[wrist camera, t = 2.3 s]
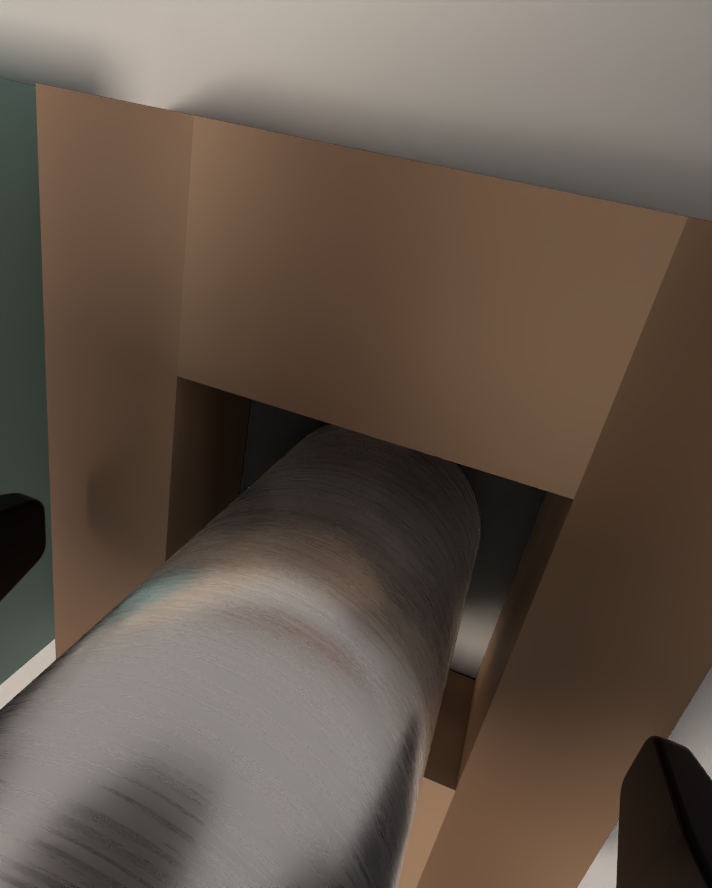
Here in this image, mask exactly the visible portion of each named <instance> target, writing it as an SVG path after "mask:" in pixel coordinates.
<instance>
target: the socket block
mask: <svg viewBox="0 0 712 888" xmlns="http://www.w3.org/2000/svg"><path fill="white" fill-rule="evenodd" d="M36 111H37V140H38V168H39V196H40V224H41V252H42V280H43V308H44V336H45V364H46V392H47V420H48V448H49V477H50V505H51V533H52V561H53V589H54V617H55V645H56V660H57V659H58V658H59V657H60V656H61V655H62V654H63V653H64V652H65V651H67V650H68V649H69V648H70V647H71V646H72V645H73V644H74V643H75V642H77V641H78V640H79V639H80V638H81V637H82V636H83V635H84V634H86V633H87V632H88V631H89V630H90V629H91V628H92V627H93V626H94V625H96V624H97V623H98V622H99V621H100V620H101V619H102V618H103V617H104V616H106V615H107V614H108V613H109V612H110V611H111V610H112V609H113V608H115V607H116V606H117V605H118V604H119V603H120V602H121V601H122V600H123V599H125V598H126V597H127V596H128V595H129V594H130V593H131V592H132V591H133V590H135V589H136V588H137V587H138V586H139V585H140V584H141V583H142V582H144V581H145V580H146V579H147V578H148V577H149V576H150V575H151V574H152V573H154V572H155V571H156V570H157V569H158V568H159V567H160V566H161V565H162V564H164V563H165V562H166V561H167V560H168V559H169V558H170V557H171V556H173V555H174V554H175V553H176V552H177V551H178V550H179V549H180V548H181V547H183V546H184V545H185V544H186V543H187V542H188V541H189V540H190V539H192V538H193V537H194V536H195V535H196V534H197V533H198V532H199V531H200V530H202V529H203V528H204V527H205V526H206V525H207V524H208V523H209V522H210V521H212V520H213V519H214V518H215V517H216V516H217V515H218V514H219V513H221V512H222V511H223V510H224V509H225V508H226V507H227V506H228V505H229V504H231V503H232V502H233V501H234V500H235V499H236V498H237V497H238V496H239V491H240V483H241V475H242V467H243V458H244V450H245V442H246V434H247V426H248V418H249V410H250V401H251V399H252V400H256V401H259V402H262V403H265V404H269V405H272V406H275V407H278V408H281V409H285V410H288V411H291V412H294V413H297V414H301V415H304V416H307V417H310V418H314V419H317V420H320V421H323V422H326V423H330V424H333V425H336V426H339V427H342V428H346V429H349V430H352V431H355V432H359V433H362V434H365V435H368V436H371V437H375V438H378V439H381V440H384V441H387V442H391V443H394V444H397V445H400V446H404V447H407V448H410V449H413V450H416V451H420V452H423V453H426V454H429V455H432V456H436V457H439V458H442V459H445V460H449V461H452V462H455V463H458V464H461V465H465V466H468V467H471V468H474V469H478V470H481V471H484V472H487V473H490V474H494V475H497V476H500V477H503V478H506V479H510V480H513V481H516V482H519V483H523V484H526V485H529V486H532V487H535V488H539V489H542V490H545V491H547V493H546V495H545V498H544V501H543V503H542V506H541V508H540V511H539V514H538V516H537V519H536V522H535V524H534V527H533V530H532V532H531V535H530V537H529V540H528V543H527V545H526V548H525V551H524V553H523V556H522V558H521V561H520V564H519V566H518V569H517V572H516V574H515V577H514V579H513V582H512V585H511V587H510V590H509V593H508V595H507V598H506V601H505V603H504V606H503V608H502V611H501V614H500V616H499V619H498V622H497V624H496V627H495V629H494V632H493V635H492V637H491V640H490V643H489V645H488V648H487V650H486V653H485V656H484V658H483V661H482V664H481V666H480V669H479V672H478V674H477V677H476V679H475V680H474V679H471V678H468V677H466V676H463V675H461V674H458V673H456V672H453V671H450V670H449V672H448V677H447V681H446V685H445V689H444V693H443V698H442V702H441V706H440V710H439V714H438V718H437V723H436V727H435V731H434V735H433V739H432V744H431V748H430V752H429V756H428V760H427V764H426V769H425V773H424V777H423V781H422V785H421V790H420V794H419V798H418V802H417V806H416V810H415V815H414V819H413V823H412V827H411V831H410V836H409V840H408V844H407V848H406V852H405V856H404V861H403V865H402V869H401V873H400V877H399V882H398V886H397V888H577V887H578V885H579V884H580V882H581V880H582V879H583V877H584V875H585V874H586V872H587V871H588V869H589V867H590V866H591V864H592V862H593V861H594V859H595V857H596V856H597V854H598V852H599V851H600V849H601V847H602V846H603V844H604V842H605V841H606V839H607V838H608V836H609V834H610V833H611V831H612V829H613V828H614V826H615V824H616V823H617V821H618V819H619V807H620V792H621V786H622V782H623V780H624V777H625V775H626V773H627V772H628V770H629V768H630V766H631V765H632V763H633V761H634V760H635V758H636V756H637V754H638V753H639V751H640V749H641V747H642V746H643V744H644V742H645V741H646V740H647V739H648V738H649V737H650V736H660V737H662V738H665V739H668V737H669V735H670V734H671V732H672V730H673V729H674V727H675V725H676V724H677V722H678V720H679V719H680V717H681V716H682V714H683V712H684V711H685V709H686V707H687V706H688V704H689V702H690V701H691V699H692V697H693V696H694V694H695V692H696V691H697V689H698V688H699V686H700V684H701V683H702V681H703V679H704V678H705V676H706V674H707V673H708V671H709V669H710V668H711V666H712V222H710V221H706V220H701V219H696V218H691V217H686V216H681V215H676V214H672V213H667V212H662V211H657V210H652V209H647V208H642V207H637V206H633V205H628V204H623V203H618V202H613V201H608V200H603V199H599V198H594V197H589V196H584V195H579V194H574V193H569V192H564V191H560V190H555V189H550V188H545V187H540V186H535V185H530V184H526V183H521V182H516V181H511V180H506V179H501V178H496V177H491V176H487V175H482V174H477V173H472V172H467V171H462V170H457V169H453V168H448V167H443V166H438V165H433V164H428V163H423V162H418V161H414V160H409V159H404V158H399V157H394V156H389V155H384V154H380V153H375V152H370V151H365V150H360V149H355V148H350V147H345V146H341V145H336V144H331V143H326V142H321V141H316V140H311V139H307V138H302V137H297V136H292V135H287V134H282V133H277V132H272V131H268V130H263V129H258V128H253V127H248V126H243V125H238V124H234V123H229V122H224V121H219V120H214V119H209V118H204V117H199V116H195V115H190V114H185V113H180V112H175V111H170V110H165V109H161V108H156V107H151V106H146V105H141V104H136V103H131V102H126V101H122V100H117V99H112V98H107V97H102V96H97V95H92V94H88V93H83V92H78V91H73V90H68V89H63V88H58V87H53V86H49V85H44V84H39V83H36Z"/></svg>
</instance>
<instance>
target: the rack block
mask: <svg viewBox="0 0 712 888" xmlns="http://www.w3.org/2000/svg"><path fill="white" fill-rule="evenodd" d="M9 493H22V494H25V495H27V496H30V497H33V498H35V499H38V500H39V501H41V502H42V503H43V505H44V507H45V522H46V548H45V551H44V554H43V556H42V557H41V559H40V560H39V561H38V562H37V563H36V564H35V566H34V567H33V568H32V569H31V570H30V571H29V572H28V573H27V574H26V575H25V576H24V577H23V578H22V579H21V580H20V582H19V583H18V584H17V585H16V586H15V587H14V588H13V589H12V590H11V591H10V592H9V593H8V594H7V595H6V597H5V598H4V599H3V600H2V601H1V602H0V685H1V684H2V683H3V682H4V681H5V680H7V679H8V678H9V677H10V676H11V675H12V674H14V673H15V672H16V671H17V670H18V669H20V668H21V667H22V666H23V665H24V664H25V663H27V662H28V661H29V660H30V659H31V658H32V657H34V656H35V655H36V654H37V653H38V652H39V651H41V650H42V649H43V648H44V647H45V646H47V645H48V644H49V643H50V642H51V641H52V640H54V639H55V617H54V589H53V561H52V533H51V505H50V477H49V448H48V420H47V392H46V364H45V336H44V308H43V280H42V252H41V224H40V196H39V168H38V140H37V111H36V86H31V85H27V84H23V83H19V82H14V81H10V80H6V79H2V78H0V495H3V494H9Z"/></svg>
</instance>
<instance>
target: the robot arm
mask: <svg viewBox="0 0 712 888" xmlns="http://www.w3.org/2000/svg"><path fill="white" fill-rule="evenodd" d="M45 548H46V522H45V507H44V505H43V503H42V502H41V501H39V500H38V499H35V498H33V497H30V496H27V495H25V494H22V493H9V494H3V495H0V602H1V601H2V600H3V599H4V598H5V597H6V595H7V594H8V593H9V592H10V591H11V590H12V589H13V588H14V587H15V586H16V585H17V584H18V583H19V582H20V580H21V579H22V578H23V577H24V576H25V575H26V574H27V573H28V572H29V571H30V570H31V569H32V568H33V567H34V566H35V564H36V563H37V562H38V561H39V560H40V559H41V557H42V556H43V554H44V551H45ZM616 888H712V780H711V778H710V777H709V775H708V774H707V773H706V771H705V770H704V769H703V767H702V766H701V764H700V763H699V762H698V760H697V759H696V758H695V756H694V755H693V754H692V752H691V751H690V750H689V749H688V748H686V747H685V746H683V745H681V744H678V743H675V742H673V741H670V740H668V739H665V738H662V737H660V736H650V737H649V738H648V739H647V740H646V741H645V742H644V744H643V746H642V747H641V749H640V751H639V753H638V754H637V756H636V758H635V760H634V761H633V763H632V765H631V766H630V768H629V770H628V772H627V773H626V775H625V777H624V780H623V782H622V786H621V792H620V807H619V832H618V858H617V884H616Z"/></svg>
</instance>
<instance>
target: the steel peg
mask: <svg viewBox="0 0 712 888" xmlns="http://www.w3.org/2000/svg"><path fill="white" fill-rule="evenodd" d="M480 533H481V524H480V514H479V509H478V504H477V501H476V498H475V495H474V492H473V490H472V488H471V486H470V484H469V482H468V480H467V478H466V476H465V475H464V473H463V472H462V470H461V469H460V468H459V466H458V465H457V464H456V463H455V462H452V461H449V460H445V459H442V458H439V457H436V456H432V455H429V454H426V453H423V452H420V451H416V450H413V449H410V448H407V447H404V446H400V445H397V444H394V443H391V442H387V441H384V440H381V439H378V438H375V437H371V436H368V435H365V434H362V433H359V432H355V431H352V430H349V429H346V428H342V427H339V426H336V425H333V424H330V423H329V424H326V425H324V426H322V427H320V428H318V429H316V430H314V431H313V432H311V433H310V434H308V435H307V436H305V437H304V438H303V439H302V440H301V441H300V442H299V443H297V444H296V445H295V446H294V447H293V448H292V449H291V450H290V451H289V452H287V453H286V454H285V455H284V456H283V457H282V458H281V459H280V460H279V461H277V462H276V463H275V464H274V465H273V466H272V467H271V468H270V469H268V470H267V471H266V472H265V473H264V474H263V475H262V476H261V477H260V478H258V479H257V480H256V481H255V482H254V483H253V484H252V485H251V486H250V487H248V488H247V489H246V490H245V491H244V492H243V493H242V494H241V495H239V496H238V497H237V498H236V499H235V500H234V501H233V502H232V503H231V504H229V505H228V506H227V507H226V508H225V509H224V510H223V511H222V512H221V513H219V514H218V515H217V516H216V517H215V518H214V519H213V520H212V521H210V522H209V523H208V524H207V525H206V526H205V527H204V528H203V529H202V530H200V531H199V532H198V533H197V534H196V535H195V536H194V537H193V538H192V539H190V540H189V541H188V542H187V543H186V544H185V545H184V546H183V547H181V548H180V549H179V550H178V551H177V552H176V553H175V554H174V555H173V556H171V557H170V558H169V559H168V560H167V561H166V562H165V563H164V564H162V565H161V566H160V567H159V568H158V569H157V570H156V571H155V572H154V573H152V574H151V575H150V576H149V577H148V578H147V579H146V580H145V581H144V582H142V583H141V584H140V585H139V586H138V587H137V588H136V589H135V590H133V591H132V592H131V593H130V594H129V595H128V596H127V597H126V598H125V599H123V600H122V601H121V602H120V603H119V604H118V605H117V606H116V607H115V608H113V609H112V610H111V611H110V612H109V613H108V614H107V615H106V616H104V617H103V618H102V619H101V620H100V621H99V622H98V623H97V624H96V625H94V626H93V627H92V628H91V629H90V630H89V631H88V632H87V633H86V634H84V635H83V636H82V637H81V638H80V639H79V640H78V641H77V642H75V643H74V644H73V645H72V646H71V647H70V648H69V649H68V650H67V651H65V652H64V653H63V654H62V655H61V656H60V657H59V658H58V659H57V660H55V661H54V662H53V663H52V664H51V665H50V666H49V667H48V668H46V669H45V670H44V671H43V672H42V673H41V674H40V675H39V676H38V677H36V678H35V679H34V680H33V681H32V682H31V683H30V684H29V685H27V686H26V687H25V688H24V689H23V690H22V691H21V692H20V693H19V694H17V695H16V696H15V697H14V698H13V699H12V700H11V701H10V702H9V703H7V704H6V705H5V706H4V707H3V708H2V709H1V710H0V888H397V886H398V882H399V877H400V873H401V869H402V865H403V861H404V856H405V852H406V848H407V844H408V840H409V836H410V831H411V827H412V823H413V819H414V815H415V810H416V806H417V802H418V798H419V794H420V790H421V785H422V781H423V777H424V773H425V769H426V764H427V760H428V756H429V752H430V748H431V744H432V739H433V735H434V731H435V727H436V723H437V718H438V714H439V710H440V706H441V702H442V698H443V693H444V689H445V685H446V681H447V677H448V672H449V668H450V664H451V660H452V656H453V652H454V647H455V643H456V639H457V635H458V631H459V626H460V622H461V618H462V614H463V610H464V605H465V601H466V597H467V593H468V589H469V585H470V580H471V576H472V572H473V568H474V564H475V559H476V555H477V551H478V547H479V543H480Z"/></svg>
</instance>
